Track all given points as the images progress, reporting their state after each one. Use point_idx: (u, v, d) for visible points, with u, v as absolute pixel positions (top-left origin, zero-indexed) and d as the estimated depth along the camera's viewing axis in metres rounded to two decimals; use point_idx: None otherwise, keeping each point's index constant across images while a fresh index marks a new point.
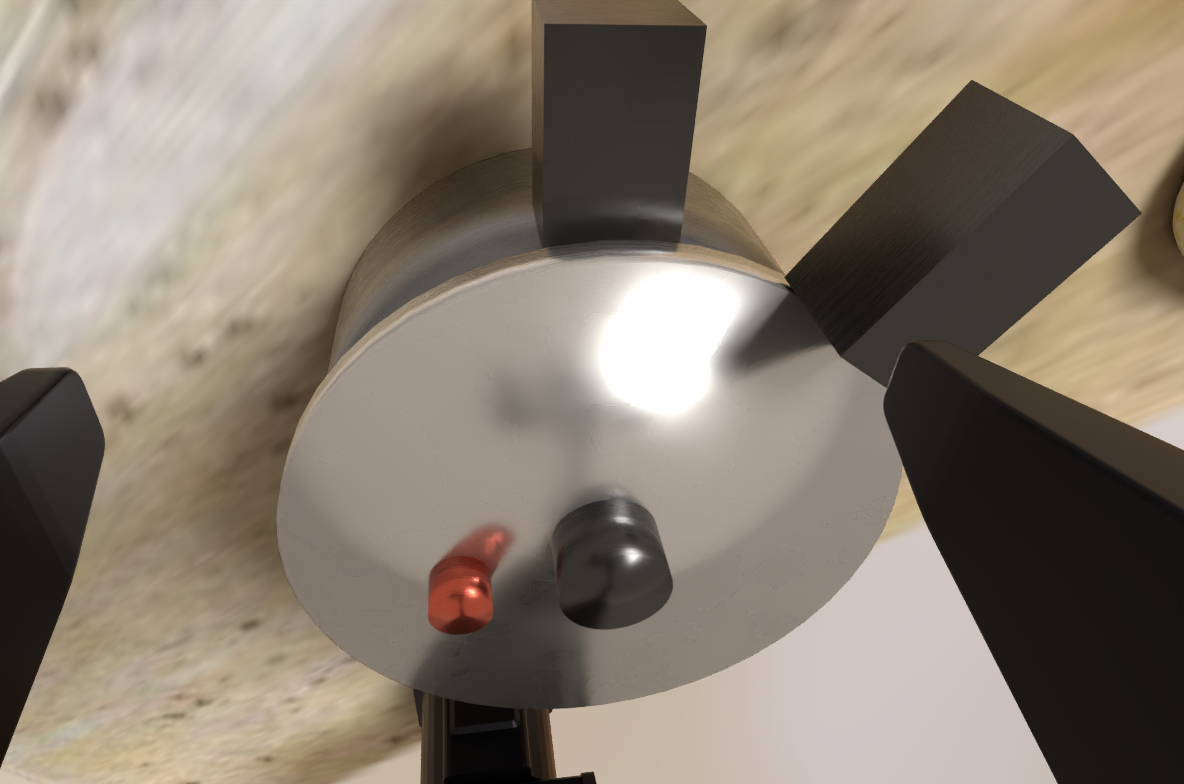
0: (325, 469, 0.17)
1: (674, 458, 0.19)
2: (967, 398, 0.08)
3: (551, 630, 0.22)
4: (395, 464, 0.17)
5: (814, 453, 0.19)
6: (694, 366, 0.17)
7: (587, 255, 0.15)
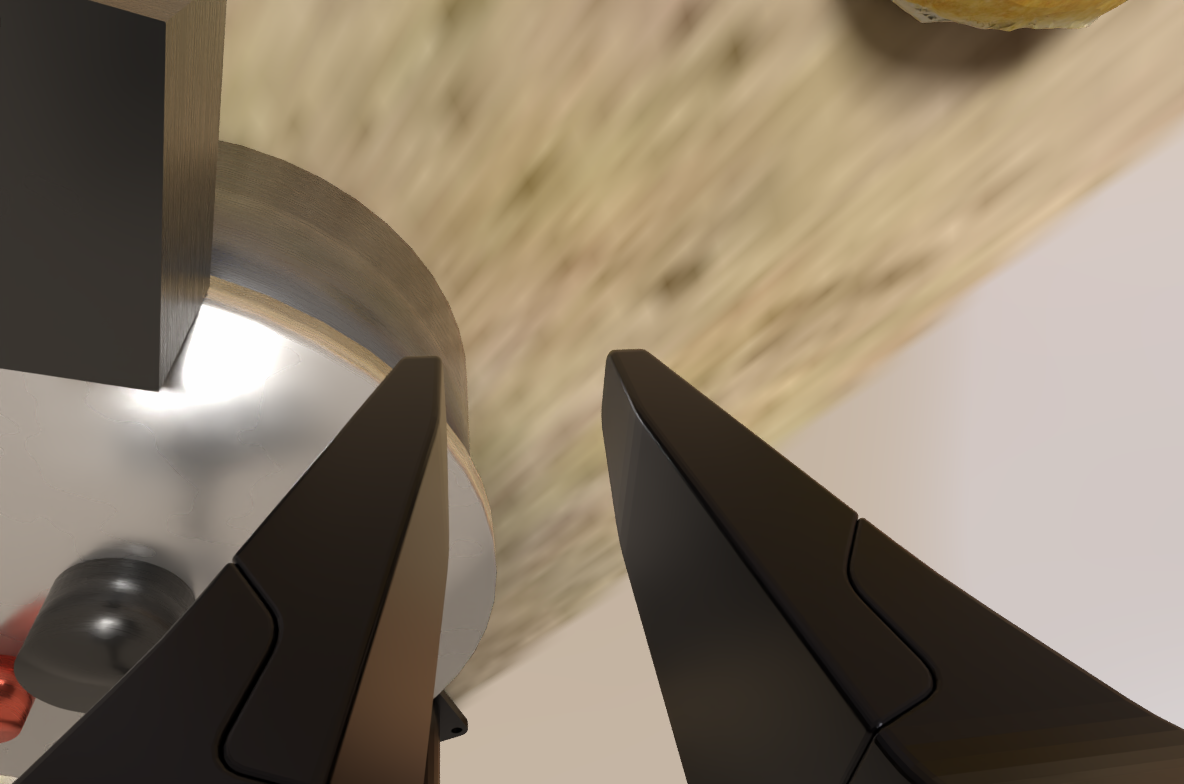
0: None
1: (111, 500, 0.15)
2: (631, 413, 0.07)
3: None
4: None
5: (288, 448, 0.15)
6: (13, 395, 0.13)
7: None
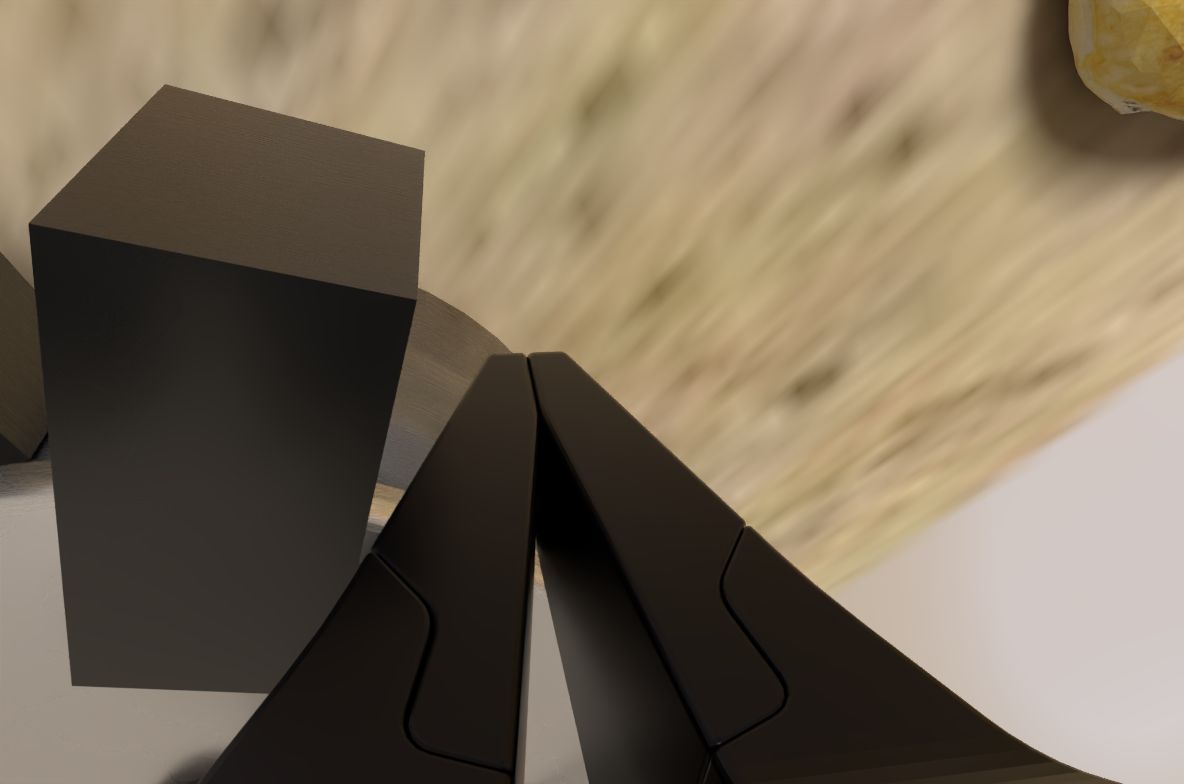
0: None
1: (216, 725, 0.12)
2: (539, 417, 0.07)
3: None
4: None
5: None
6: None
7: None
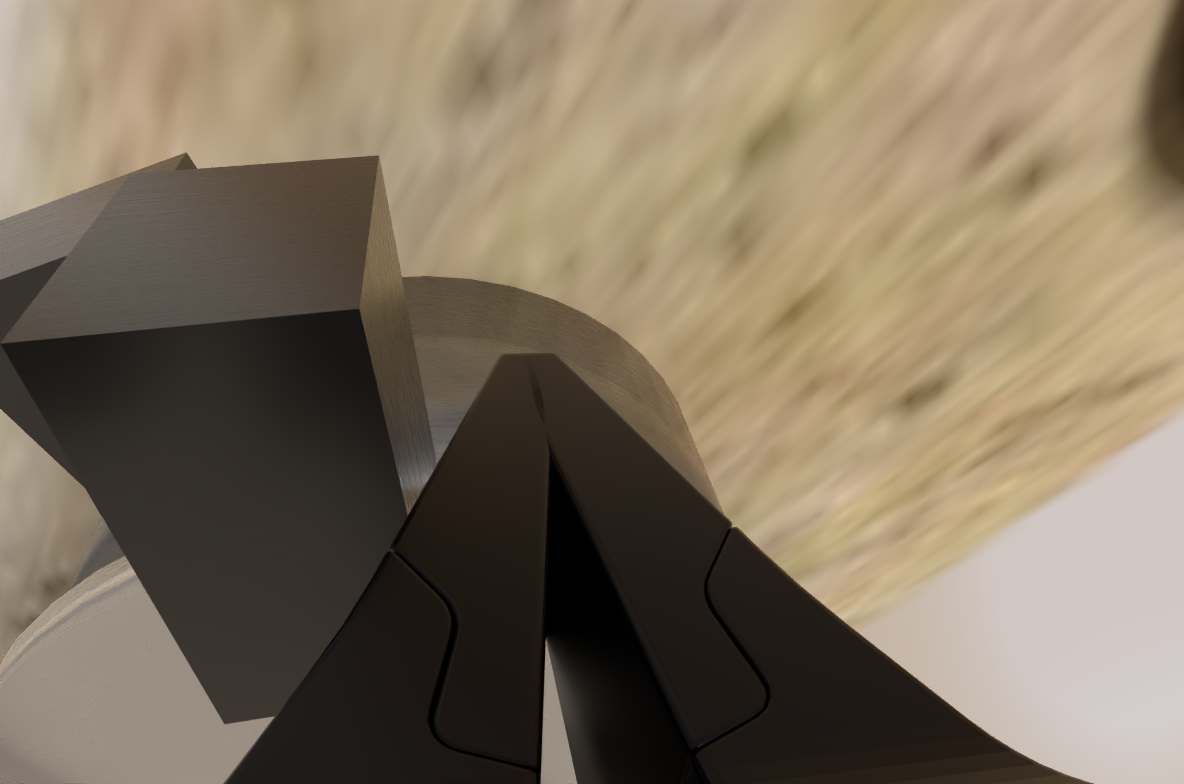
0: None
1: None
2: None
3: None
4: None
5: None
6: None
7: (23, 649, 0.11)
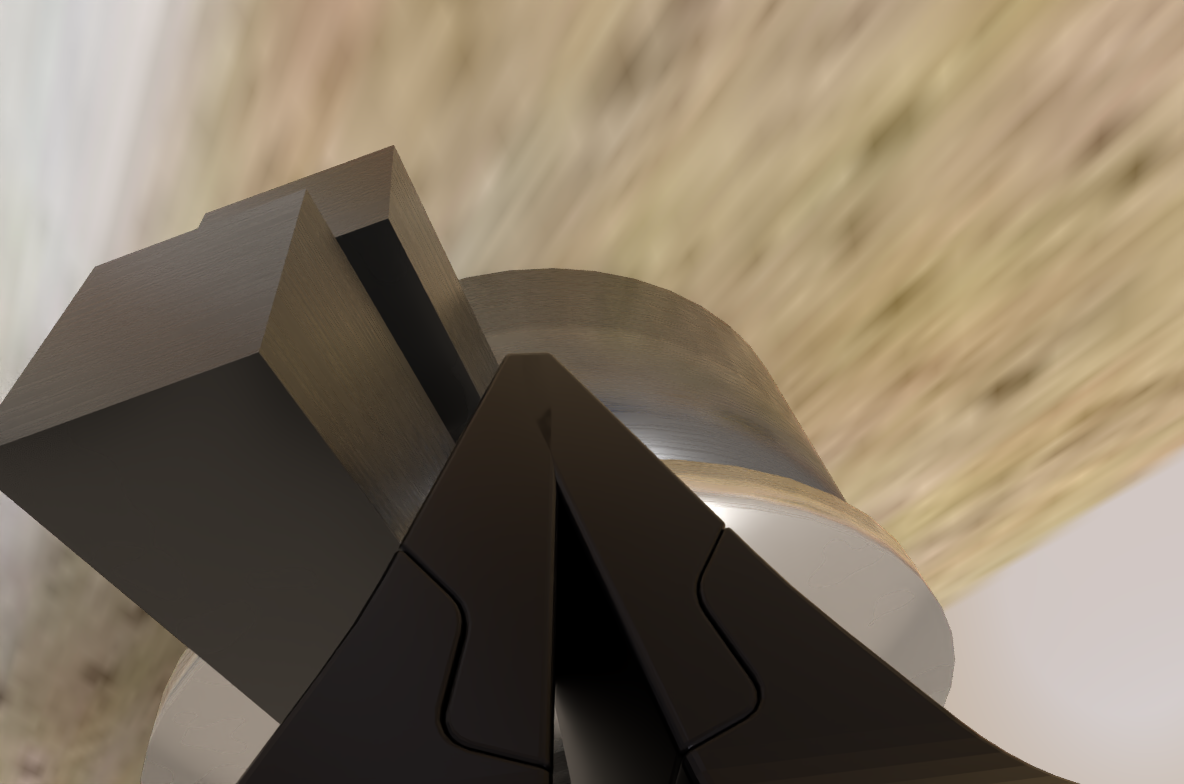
0: None
1: None
2: None
3: None
4: None
5: None
6: None
7: (165, 699, 0.13)
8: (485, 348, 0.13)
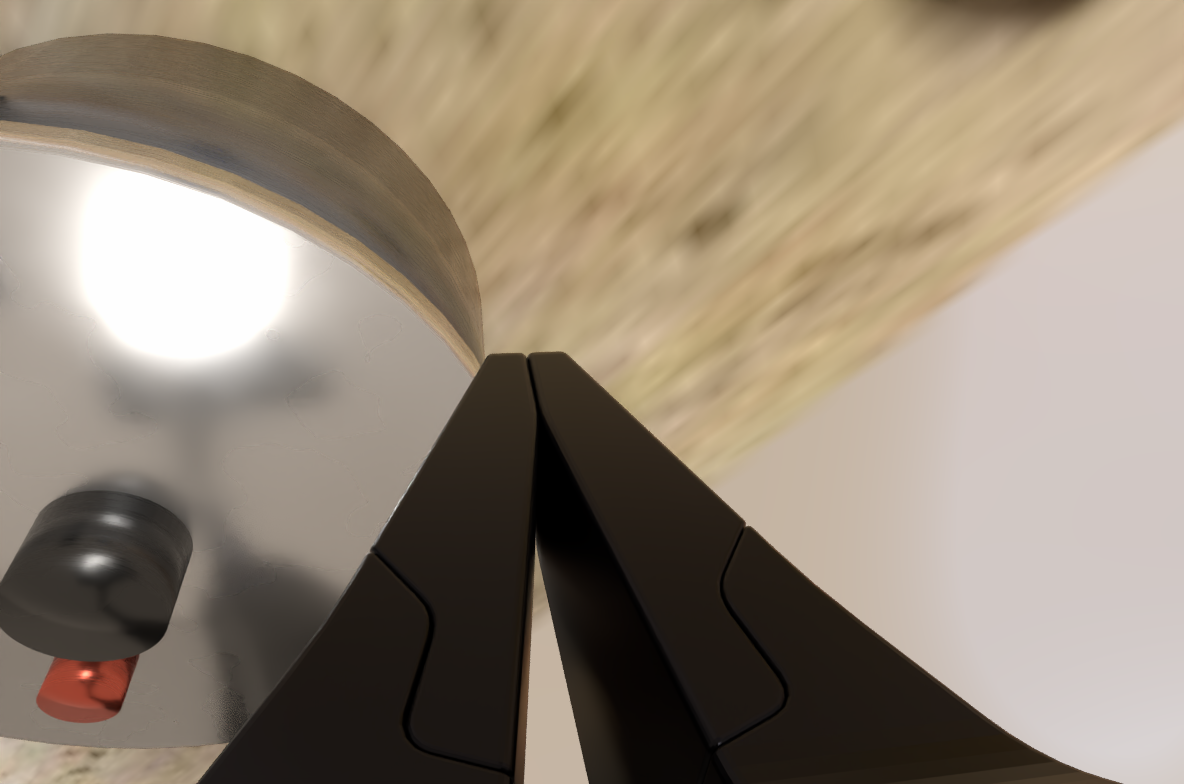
0: None
1: None
2: (539, 417, 0.07)
3: (265, 629, 0.18)
4: None
5: (74, 292, 0.12)
6: None
7: None
8: None
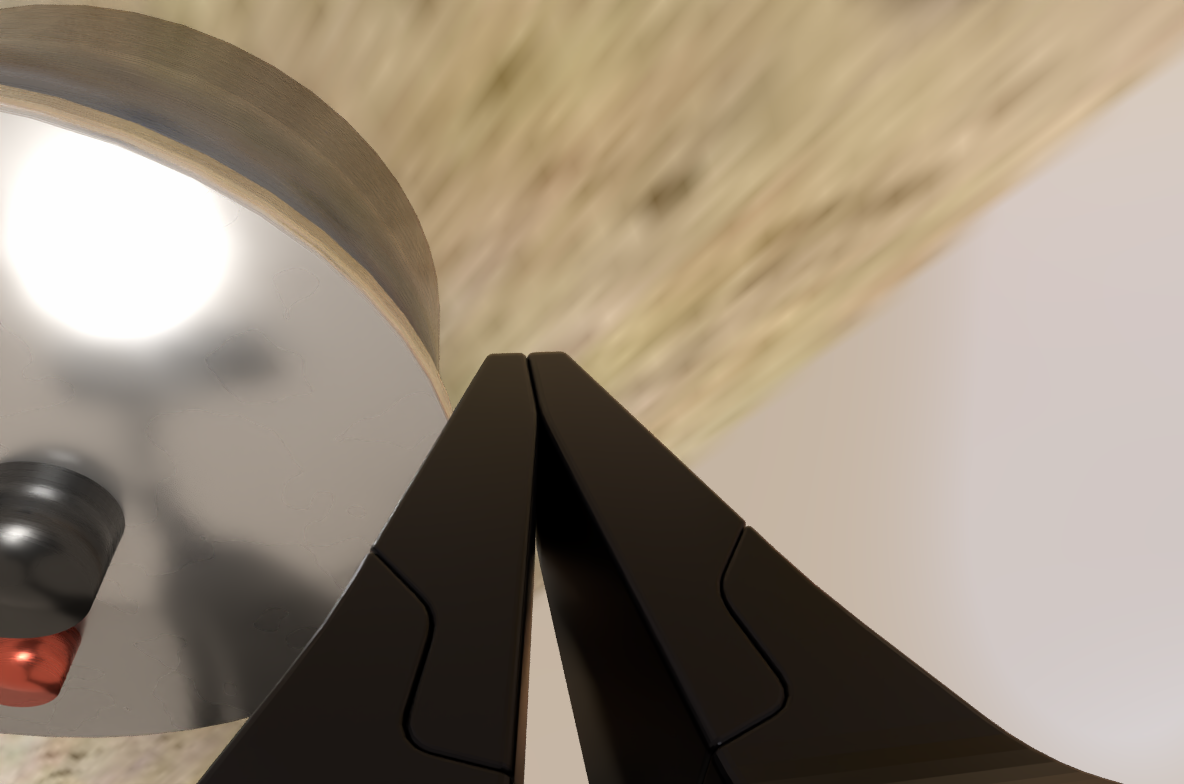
0: None
1: None
2: (539, 417, 0.07)
3: (209, 609, 0.17)
4: None
5: None
6: None
7: None
8: None
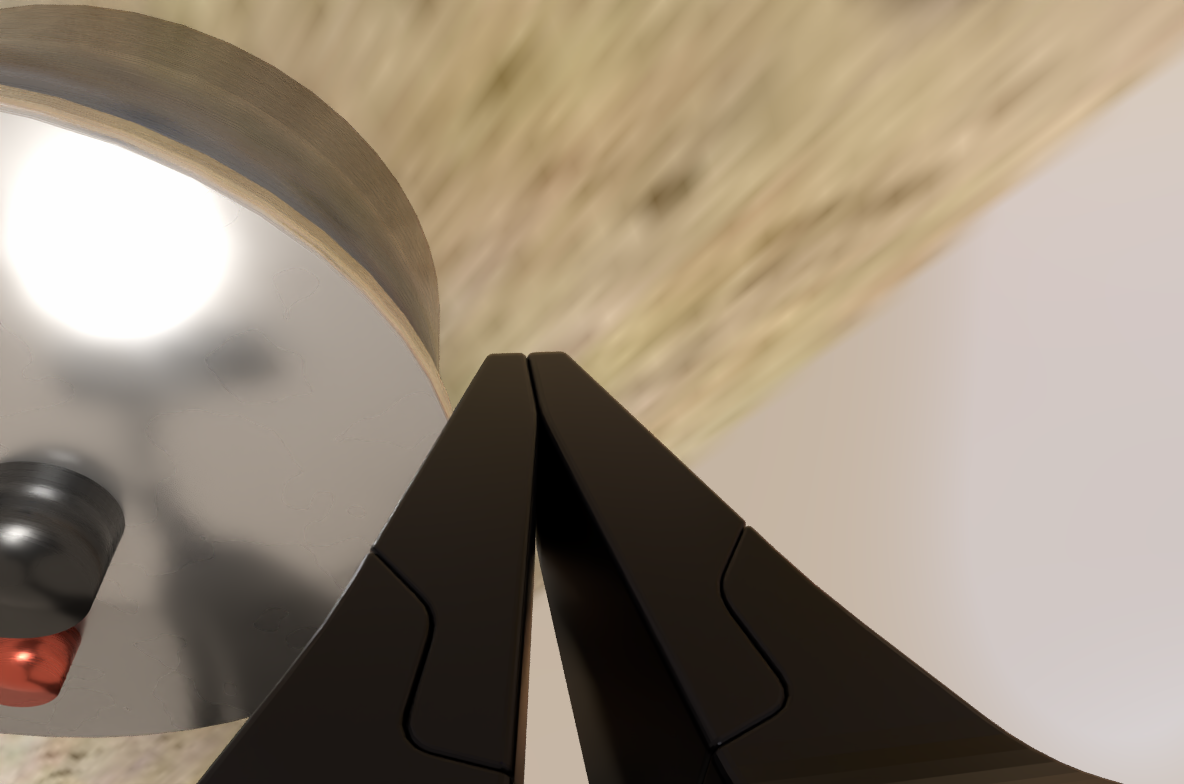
0: None
1: None
2: (539, 417, 0.07)
3: (209, 609, 0.17)
4: None
5: None
6: None
7: None
8: None
